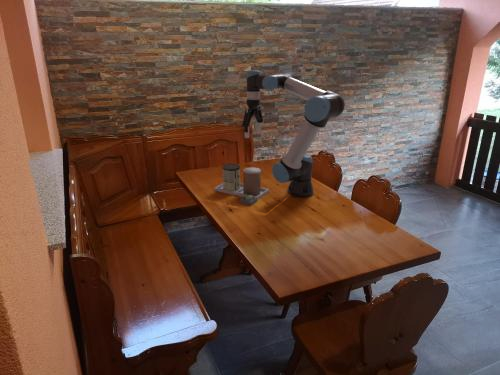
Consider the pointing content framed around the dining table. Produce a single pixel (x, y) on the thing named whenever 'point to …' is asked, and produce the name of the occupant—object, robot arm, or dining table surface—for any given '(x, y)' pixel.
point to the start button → (248, 197)
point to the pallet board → (240, 191)
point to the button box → (248, 201)
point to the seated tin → (251, 181)
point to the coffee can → (231, 177)
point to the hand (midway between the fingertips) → (252, 135)
